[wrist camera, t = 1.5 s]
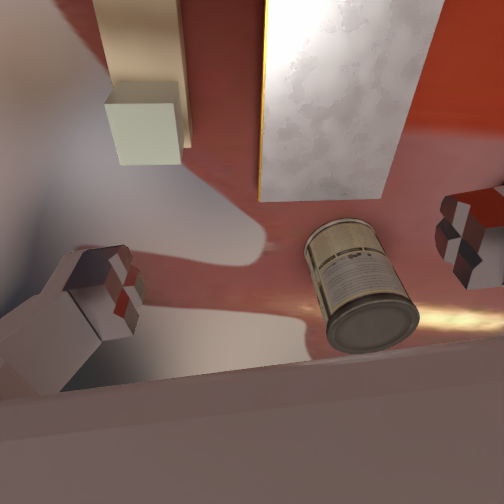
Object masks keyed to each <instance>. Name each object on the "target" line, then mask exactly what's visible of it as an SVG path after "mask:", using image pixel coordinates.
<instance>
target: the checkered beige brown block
mask: <svg viewBox="0 0 504 504" xmlns="http://www.w3.org/2000/svg"><path fill="white" fill-rule="evenodd" d="M92 1H93V5H94V10H95V14H96V18H97V22H98V26H99V31H100V35H101V39H102V43H103V48H104V52H105V56H106V60H107V64H108V69H109V73H110V77H111V81H112V85H113V89H114V87H115V86H116V84H117V82H178V83H179V92H180V101H181V109H182V118H183V127H184V136H185V140H184V147H183V148H191V144H192V135H193V128H192V118H191V107H190V97H189V87H188V77H187V66H186V56H185V46H184V36H183V25H182V15H181V5H180V0H92Z"/></svg>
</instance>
